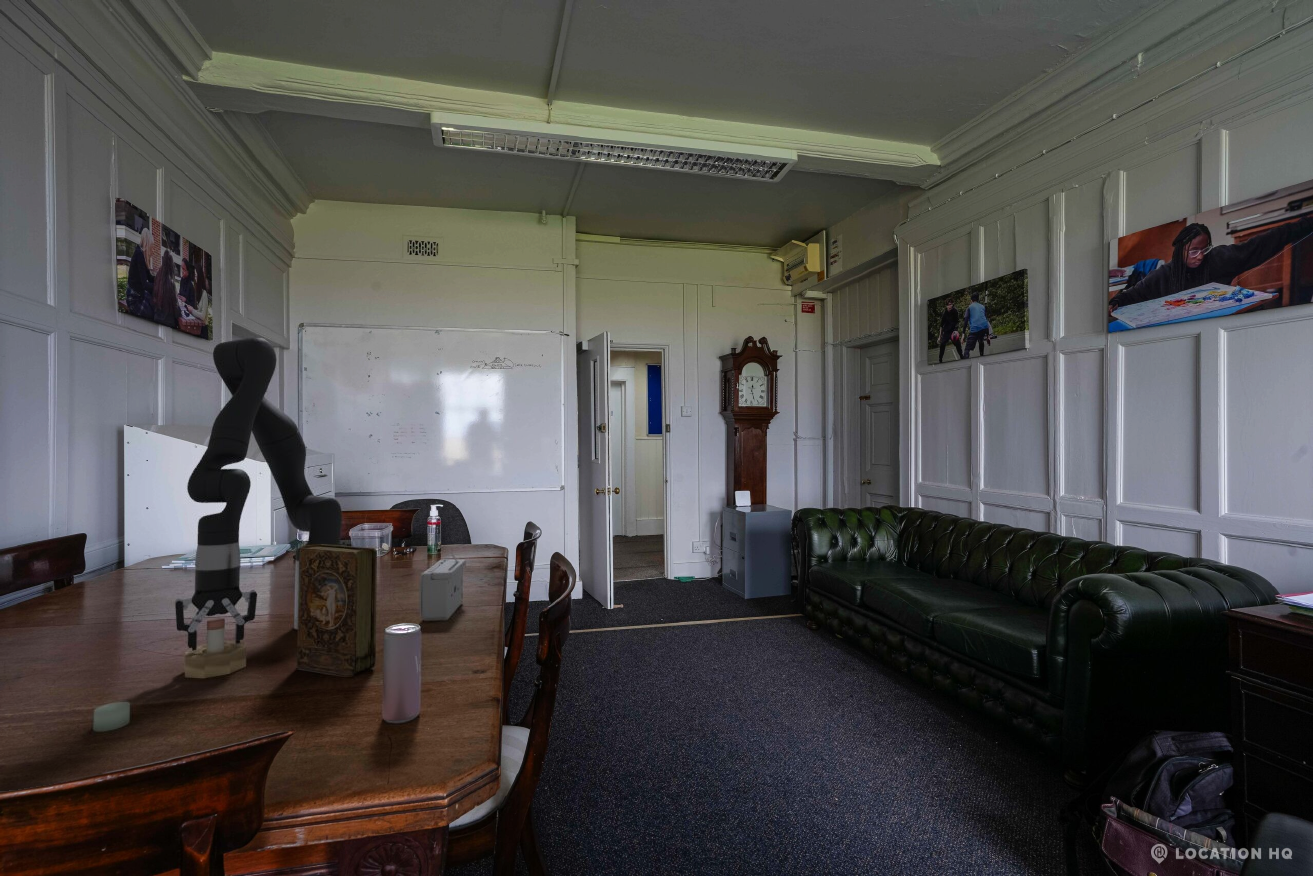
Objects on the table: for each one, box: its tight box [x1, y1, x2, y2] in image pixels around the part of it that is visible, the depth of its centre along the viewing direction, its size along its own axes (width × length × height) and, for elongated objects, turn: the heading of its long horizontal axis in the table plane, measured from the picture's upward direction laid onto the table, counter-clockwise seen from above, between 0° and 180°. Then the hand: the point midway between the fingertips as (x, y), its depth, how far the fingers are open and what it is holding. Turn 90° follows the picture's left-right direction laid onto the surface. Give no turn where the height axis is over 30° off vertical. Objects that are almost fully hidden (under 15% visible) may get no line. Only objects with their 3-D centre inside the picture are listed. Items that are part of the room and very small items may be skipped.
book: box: [296, 544, 378, 678], centre depth 126 cm, size 16×6×25 cm, turn 71°
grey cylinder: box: [206, 617, 226, 653], centre depth 125 cm, size 3×3×10 cm
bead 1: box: [92, 701, 131, 732], centre depth 100 cm, size 4×4×3 cm
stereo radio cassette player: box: [419, 545, 467, 622], centre depth 171 cm, size 21×8×20 cm, turn 6°
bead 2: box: [184, 641, 247, 679], centre depth 125 cm, size 10×10×4 cm
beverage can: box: [381, 623, 422, 724], centre depth 104 cm, size 6×6×15 cm
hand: (216, 645), depth 125 cm, fingers open, 6 cm apart
